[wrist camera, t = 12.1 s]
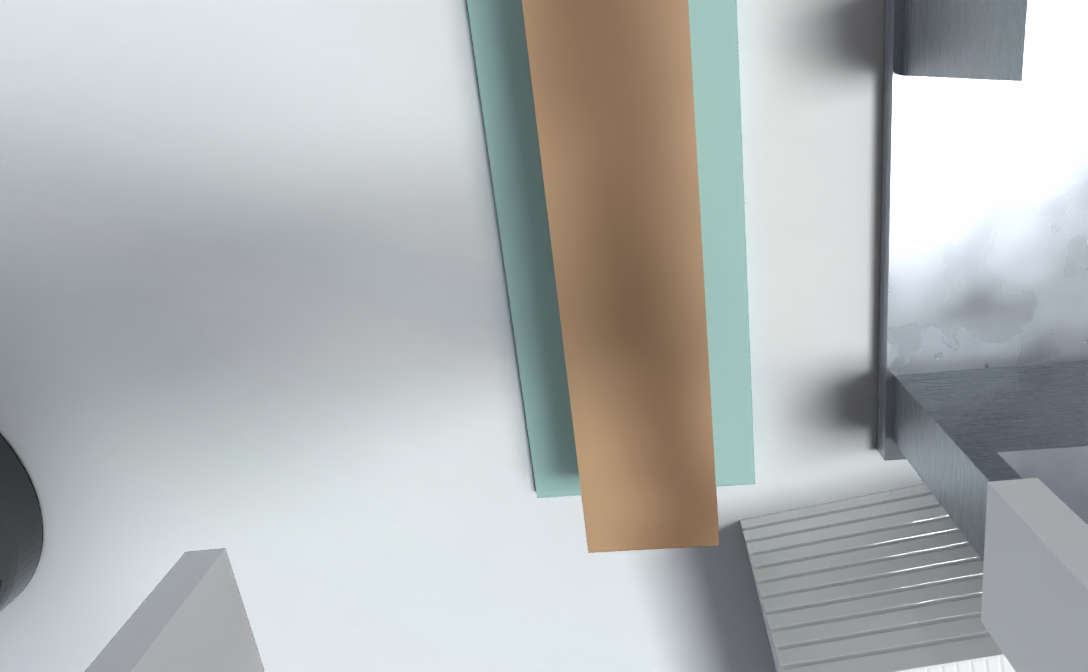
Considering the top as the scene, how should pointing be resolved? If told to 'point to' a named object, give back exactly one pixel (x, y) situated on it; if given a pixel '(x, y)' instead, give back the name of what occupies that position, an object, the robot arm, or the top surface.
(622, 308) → the rail
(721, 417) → the mat
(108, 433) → the top surface
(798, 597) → the stack of papers
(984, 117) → the standards
